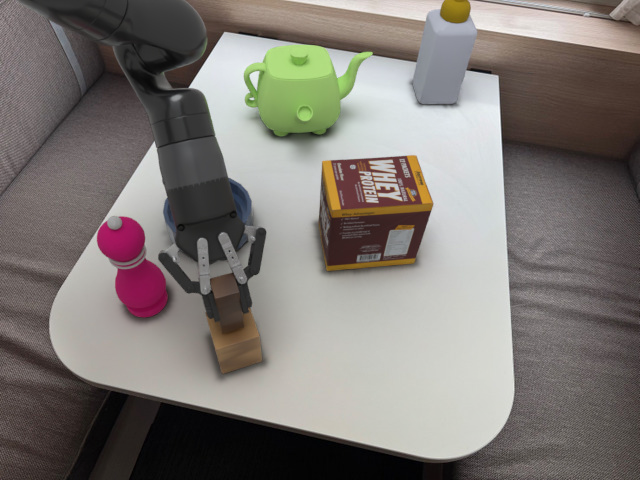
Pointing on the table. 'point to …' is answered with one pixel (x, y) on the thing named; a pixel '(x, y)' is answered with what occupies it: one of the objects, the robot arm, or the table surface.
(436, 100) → the soap bottle
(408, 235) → the supplement box
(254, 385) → the table surface
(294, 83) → the teapot
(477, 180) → the table surface
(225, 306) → the tall bronze square pillar
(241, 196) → the bowl
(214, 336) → the light wooden block
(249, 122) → the table surface
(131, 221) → the pepper mill
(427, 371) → the table surface
